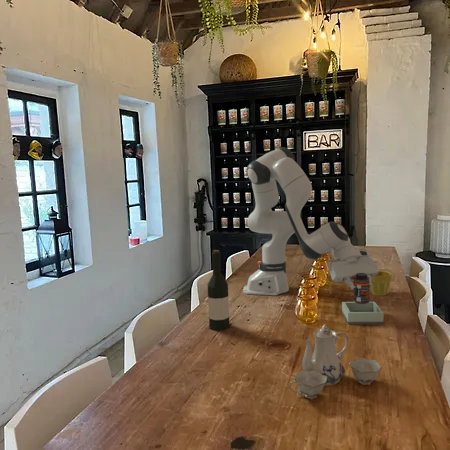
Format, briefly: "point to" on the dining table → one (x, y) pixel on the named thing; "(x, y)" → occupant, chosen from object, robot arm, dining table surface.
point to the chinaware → (329, 365)
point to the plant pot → (380, 283)
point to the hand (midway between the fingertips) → (362, 287)
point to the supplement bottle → (361, 289)
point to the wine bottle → (218, 296)
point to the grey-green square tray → (362, 313)
